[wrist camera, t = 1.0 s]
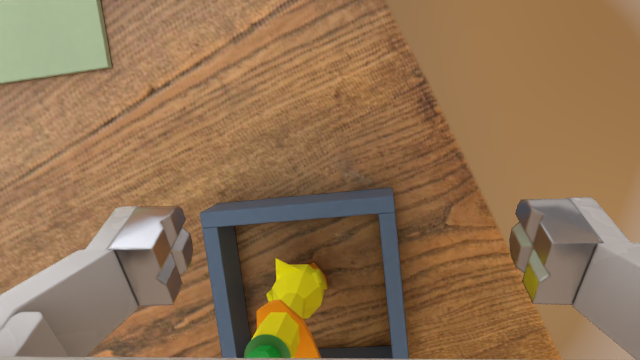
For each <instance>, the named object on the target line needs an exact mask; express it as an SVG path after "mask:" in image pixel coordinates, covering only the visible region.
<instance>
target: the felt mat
mask: <svg viewBox="0 0 640 360" xmlns="http://www.w3.org/2000/svg"><path fill="white" fill-rule="evenodd" d="M108 68H112V63H111V58H110V52H109V46H108V41H107V35H106V29H105V23H104V18H103V12H102V6H101V1H100V0H0V84H6V83H13V82H20V81H26V80H33V79H40V78H47V77H54V76H60V75H67V74H74V73H81V72H88V71H94V70H101V69H108Z"/></svg>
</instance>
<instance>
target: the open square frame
mask: <svg viewBox="0 0 640 360" xmlns="http://www.w3.org/2000/svg"><path fill="white" fill-rule="evenodd" d="M368 214H378V217H379V227H380V237H381V247H382V257H383V267H384V277H385V287H386V297H387V307H388V317H389V327H390V337H391V346H376V347H349V348H322V349H318V351H319V353H320V356H321V358H369V359H409V353H408V342H407V331H406V321H405V310H404V299H403V289H402V278H401V267H400V257H399V246H398V235H397V225H396V214H395V203H394V195H393V190H392V188H381V189H370V190H359V191H348V192H337V193H326V194H315V195H304V196H293V197H282V198H272V199H261V200H250V201H239V202H228V203H218V204H216V205H214V206H212V207H210V208H208V209H207V210H205V211H203V212H201V213H200V217H201V223H202V228H203V236H204V242H205V249H206V255H207V262H208V268H209V274H210V281H211V287H212V294H213V300H214V307H215V313H216V319H217V326H218V332H219V339H220V345H221V352H222V358H244V352H245V349H246V346H247V345H248V343H249V342H250V341H251V338H250V331H249V324H248V317H247V310H246V303H245V296H244V289H243V283H242V276H241V269H240V262H239V255H238V248H237V241H236V234H235V228H234V226H235V225H247V224H259V223H271V222H283V221H295V220H307V219H320V218H332V217H344V216H356V215H368Z"/></svg>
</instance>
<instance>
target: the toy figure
mask: <svg viewBox="0 0 640 360" xmlns="http://www.w3.org/2000/svg"><path fill="white" fill-rule="evenodd" d="M326 289H328V284H327V279H326V276H325V275H324V273H323V272H322V271H321V269H320V268H319V267H318V266H317V265H316V264H315V263H314V262H313V263H311V264H297V265H289V264H286V263H284V262H282V261H280V260H278V259H276V282H275V284H274V285H273V287H272V289H271V290H270V291H269V292H268V293H267V294H266V296H267V299H268V301H269V303H267V304H265V305H264V306H262V307H261V308H260V309H258V310H257V330H256V332H255V334H254V336H253V337H252V339H251V341H250V342H249V343H248V345H247V346H246V349H245V352H244V358H321V356H320V353H319V351H318V348H317V346H316V343H315V341H314V338H313V336H312V334H311V332H310V330H309V329H308V327H307V325H306V323H305V321H304V319H308V318H309V317H310V316H311V315H312V314H313V313H314V312H315V311H316V310H317V309H318V308H319V306H320V305H321V303H322V300H323V296H324V290H326Z"/></svg>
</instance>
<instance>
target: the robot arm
mask: <svg viewBox="0 0 640 360" xmlns="http://www.w3.org/2000/svg"><path fill="white" fill-rule="evenodd" d="M515 214H516V216H517V217H518V220H519V221H520V222H518V224H516V225H515V226H514V227H513V228H512V229H511V234H510V253H511V257H512V260H513V262H514V265H515V267H516V268H518V269H519V270H520V271H522V272H523V273H524V277H523V281H522V282H523V284H524V286H525V288H526V290H527V292H528V294H529V297H530V299H531V301H532V303H533V304H560V305H573V308H575V309H576V310H577V311H578V312H580V313H581V314H582V315H583V316H584V317H586V318H587V319H588V320H589V321H590V322H592V323H593V324H594V325H595V326H596V327H598V328H599V329H600V330H601V331H602V332H604V333H605V334H606V335H607V336H608V337H610V338H611V339H612V340H613V341H614V342H616V343H617V344H618V345H619V346H621V347H622V348H623V349H624V350H625V351H626V352H628V353H629V354H630V355H631V356H633V357H634V358H635V359H636V360H640V243H631V242H630V241H629V240H628V239H627V237H626V236H625V235H624V234H623V233H622V231H621V230H620V229H619V228H618V227H617V225H616V224H615V223H614V222H613V221H612V220H611V218H610V217H609V216H608V215H607V214H606V213H605V211H604V210H603V209H602V208H601V207H600V205H599V204H598V203H597V202H596V201H595V200H594V199H592V198H590V197H576V198H565V199H532V200H521V201H520V202H519V204H518V206H517V209H516V213H515ZM185 220H186V219H185V216H184V213H183V210H182V208H180V207H179V206H140V207H139V206H121V207H118V208H116V209H115V210H114V211H113V213H112V214H111V216H110V217H109V218H108V220H107V221H106V222H105V224H104V225H103V226H102V228H101V229H100V230H99V232H98V233H97V234H96V236H95V237H94V238H93V240H92V241H91V242H90V244H89V245H88V246H87V248H86V249H85V250H78V251H76V252H74V253H73V254H71V255H69V256H67V257H66V258H64V259H62V260H60V261H59V262H57V263H55V264H53V265H52V266H50V267H48V268H46V269H45V270H43V271H41V272H39V273H38V274H36V275H34V276H32V277H31V278H29V279H27V280H25V281H24V282H22V283H20V284H18V285H17V286H15V287H13V288H11V289H10V290H8V291H6V292H4V293H3V294H1V295H0V360H525V359H369V358H183V357H86V356H87V355H88V354H89V353H90V352H91V351H92V350H93V349H95V348H96V347H97V346H98V345H99V344H100V343H101V342H102V341H103V340H104V339H105V338H107V337H108V336H109V335H110V334H111V333H112V332H113V331H114V330H115V329H116V328H117V327H119V326H120V325H121V324H122V323H123V322H124V321H125V320H126V319H127V318H128V317H129V316H131V315H132V314H133V313H134V312H135V311H136V310H137V309H138V308H139V307H138V306H158V305H174V302H175V300H176V298H177V295H178V293H179V290H180V288H181V286H182V281H181V278H180V276H181V275H182V274H184V273H185V272H186V271H187V270H188V269H189V266H190V264H191V261H192V254H193V245H192V239H191V235H190V233H189V232H188V231H187V230H185V229H184V228H183V227H182V226H183V224H184V222H185Z"/></svg>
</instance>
